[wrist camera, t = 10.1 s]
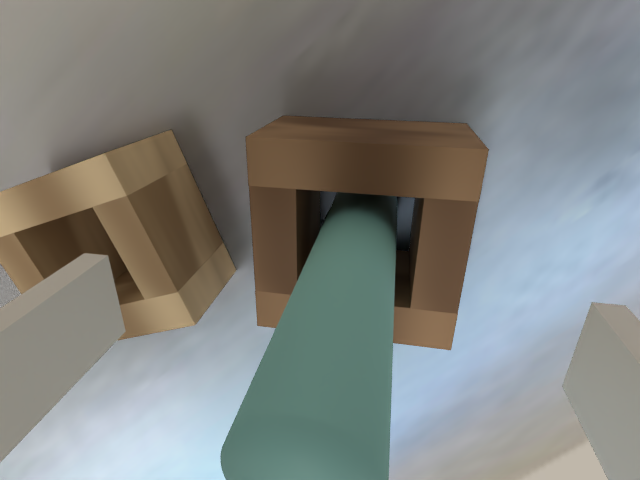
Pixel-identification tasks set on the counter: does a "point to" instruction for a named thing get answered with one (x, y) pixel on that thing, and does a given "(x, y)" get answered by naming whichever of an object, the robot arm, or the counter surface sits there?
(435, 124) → the brown wooden square frame
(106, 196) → the light wooden square frame
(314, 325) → the teal cylindrical rod
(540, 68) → the counter surface
